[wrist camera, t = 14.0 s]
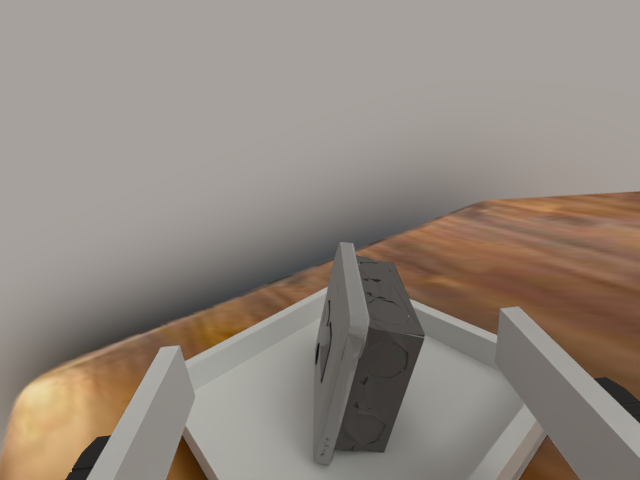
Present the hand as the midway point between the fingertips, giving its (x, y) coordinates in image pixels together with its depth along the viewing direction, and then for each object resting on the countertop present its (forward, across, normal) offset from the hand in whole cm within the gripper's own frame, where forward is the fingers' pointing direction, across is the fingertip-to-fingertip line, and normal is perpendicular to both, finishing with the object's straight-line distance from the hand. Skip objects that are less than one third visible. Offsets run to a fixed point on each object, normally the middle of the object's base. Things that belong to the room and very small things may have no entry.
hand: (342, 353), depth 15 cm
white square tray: (+5, +1, -9) cm, 10 cm away
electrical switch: (+5, +1, -8) cm, 10 cm away
